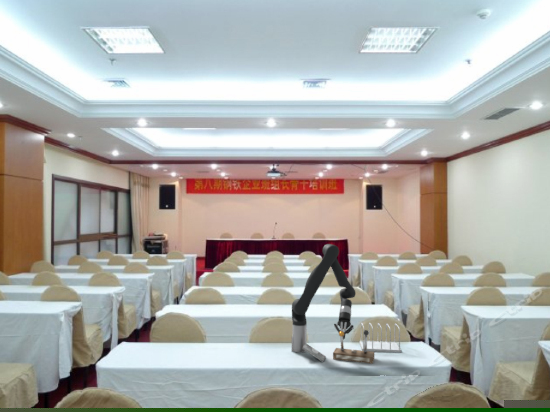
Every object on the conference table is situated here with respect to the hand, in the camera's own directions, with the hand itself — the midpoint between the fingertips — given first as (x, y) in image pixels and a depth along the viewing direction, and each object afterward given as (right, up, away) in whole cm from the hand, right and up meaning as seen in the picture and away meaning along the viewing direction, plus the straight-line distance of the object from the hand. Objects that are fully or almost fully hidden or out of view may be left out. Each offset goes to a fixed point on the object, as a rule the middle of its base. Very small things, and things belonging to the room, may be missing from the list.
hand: (342, 338), depth 254 cm
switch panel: (+7, -12, -1) cm, 14 cm away
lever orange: (0, -8, +1) cm, 8 cm away
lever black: (+14, -8, -3) cm, 16 cm away
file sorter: (+29, -13, +21) cm, 38 cm away
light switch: (-18, -12, -1) cm, 22 cm away
